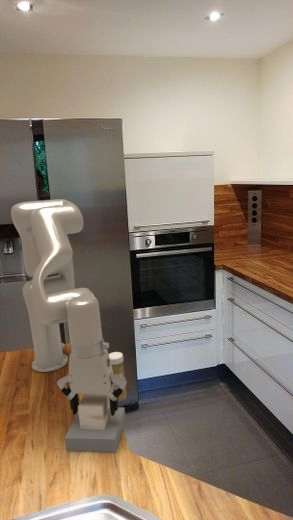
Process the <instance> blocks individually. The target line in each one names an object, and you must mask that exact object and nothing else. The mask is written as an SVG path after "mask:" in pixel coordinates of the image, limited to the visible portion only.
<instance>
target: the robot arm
mask: <svg viewBox="0 0 293 520" xmlns="http://www.w3.org/2000/svg"><path fill="white" fill-rule="evenodd" d="M10 216H11V217H10V218H11V220H12V223H13V225H14V227H15V229H16V231H17V232H18V235H19V237H20V239H21V250H22V257H23V259H22V260H23V266H24V271H25V273H26V274H27V276H28V277H30V278H32V280H29V281H27V282H25V284H24V285H23V287H22V295H23V299H24V302H25V304H26V308H27V313H28V317H29V324H30V331H31V338H32V344H33V350H34V356H35V358H34V359H35V360H33V362H31V368H32V370H33V371H35V372H39V373H49V372H54V371H57V370H60V369H62V368H63V367H64V366H66V365H67V363H68V374H66V375H65V376H63V377H61V378H60V379H58V381H57V382H56V384H57V386H58V388H59V389H60V391H61V393H62V394H63V395H64V396H65V397H66V398H67V400H68V401H69V405H70V410H72V415H73V416H76V415H77V413H78V406H79V404H80V398H79V394H80V395H82V394H83V395H85V394H107V395H108V396H109V403H110V411H111V415H112V416H114V414H115V412H116V410H118V407H119V401H118V397H119V396H120V395H121V394H122V392H123V390H124V388H125V385H126V386H127V382H128V381H127V380H126V378H125V379H123V378H121V377H119V376H117V375H115V374H113V370H112V365H111V361H110V357H109V354H110V353H109V352H108V349H109V348H110V343H109V342H107V341H105V340H104V338H103V332H102V323H101V313H100V304H99V301H98V299H97V297H96V296H95V294H94V293H93V291H91V290H90V289H89V288H87V287H78V288H75V286H76V285H75V272H74V262H73V256H74V255H73V254H74V252H73V248H72V245H71V243H70V240H69V237H68V235H70V234H76V233H77V234H78V233H80V232H81V231H82V230H83V229H84V218H83V217H84V216H83V215H82V212H81V210H80V209H79V207H78V206H77V205H76V204H74V203H73V202H72V201H69V200H67V199H64V198H63V199H61V198H60V199H58V198H57V199H44V200H30V201H23V202H19V203H16V204H14V205H13V206H12V207H11V209H10ZM66 322H67V325H68V333H69V341H70V350H71V352H70V354H69V356H67V354H65V353H64V352H63V348H65V346H66V345H65V343H63V342H62V338H61V330H60V324H62V323H66ZM67 383H68V384H69V386H68V385H67ZM113 383H117V384H119V387H118V388H117V389H116V388H115V387H114V386H113V385H112V384H113Z"/></svg>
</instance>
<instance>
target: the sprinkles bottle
mask: <svg viewBox="0 0 293 520" xmlns="http://www.w3.org/2000/svg"><path fill="white" fill-rule="evenodd" d="M108 354H109V357H110V361H111V365H112V370H113V374H115V375H117V376H119V377H121V378H123V379H125V380H126V376H125V368H124V355H123V352H119V351H114V352H110V353H108ZM112 385H113V386H114V387H115V388H116V389H117V388H118V387H119V384H117V383H113V384H112ZM126 386H127V384H126V385H125V388H124V390H123V392H122V394H121V395H120V396H119V397H118V402H121V401H123V400H126V398H128V393H127V387H126Z"/></svg>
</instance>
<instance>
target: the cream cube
mask: <svg viewBox="0 0 293 520" xmlns="http://www.w3.org/2000/svg"><path fill="white" fill-rule="evenodd" d="M77 413H79V421H80V429H90V430H105V427H106V425H107V422H108V420H109V417H110V415H111V413H110V397H109V396H108V395H107V394H83V397H82V398H81V400H80V401H79V406H78V412H77Z"/></svg>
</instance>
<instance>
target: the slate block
mask: <svg viewBox="0 0 293 520" xmlns="http://www.w3.org/2000/svg"><path fill="white" fill-rule="evenodd" d="M110 413H111V411H110ZM125 423H126V410H125V407H124V406H123V407H121V406H120V407H119V406H118V410H116V412H115V414H114V416H112V415H110V417H109V420H108V422H107V425H106V427H105V430H90V429H80V421H79V413H78V412H77V413H76V414H75V417H74V419H73V421H72V424H70V427H69V430H68V431H67V433H66V434H65V437H64V440H65V442H64V443H65V450H66V452H76V453H77V452H80V453H81V452H82V453H85V452H86V453H115V454H116V453H117V451H118V447H119V443H120V441H121V437H122V433H123V430H124V425H125Z"/></svg>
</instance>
